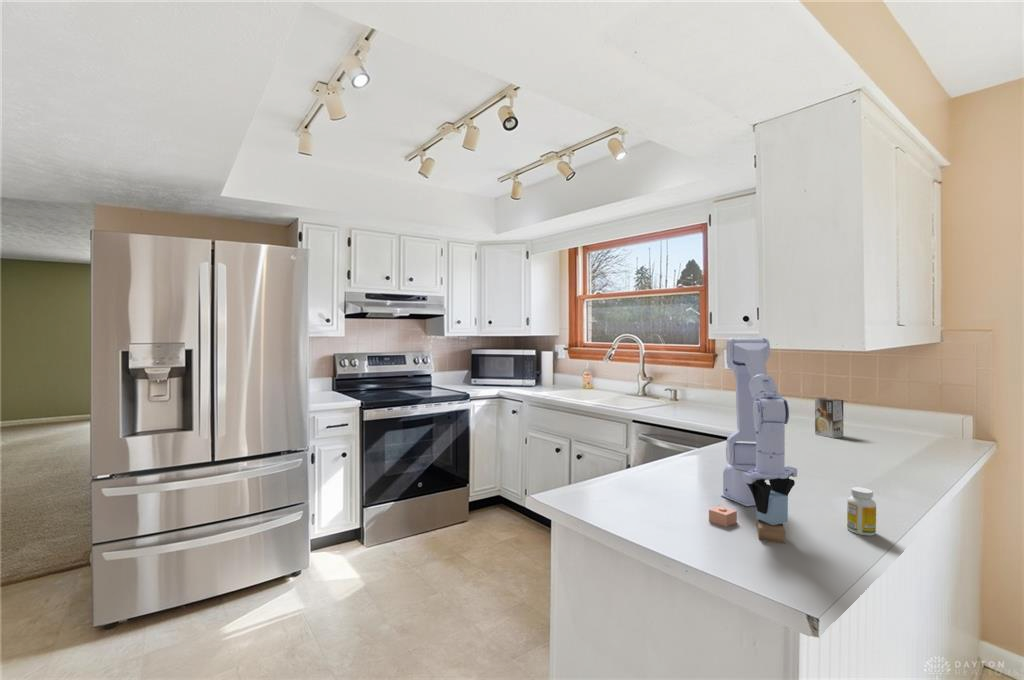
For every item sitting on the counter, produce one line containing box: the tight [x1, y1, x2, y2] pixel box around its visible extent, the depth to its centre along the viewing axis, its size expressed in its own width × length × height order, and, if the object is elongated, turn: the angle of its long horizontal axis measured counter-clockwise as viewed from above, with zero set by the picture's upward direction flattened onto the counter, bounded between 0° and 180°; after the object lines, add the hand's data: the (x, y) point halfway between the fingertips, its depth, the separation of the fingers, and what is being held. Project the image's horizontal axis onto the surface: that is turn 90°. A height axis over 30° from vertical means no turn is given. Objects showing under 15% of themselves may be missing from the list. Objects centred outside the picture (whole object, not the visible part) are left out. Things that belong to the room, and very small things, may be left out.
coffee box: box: [814, 397, 844, 439], centre depth 212 cm, size 9×6×16 cm
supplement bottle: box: [846, 486, 877, 536], centre depth 111 cm, size 5×5×10 cm
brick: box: [708, 504, 738, 528], centre depth 118 cm, size 4×4×3 cm
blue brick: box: [755, 490, 789, 525], centre depth 111 cm, size 4×4×6 cm
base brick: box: [755, 517, 786, 545], centre depth 111 cm, size 10×5×3 cm, turn 156°
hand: (769, 510), depth 111 cm, fingers closed on blue brick, 4 cm apart
